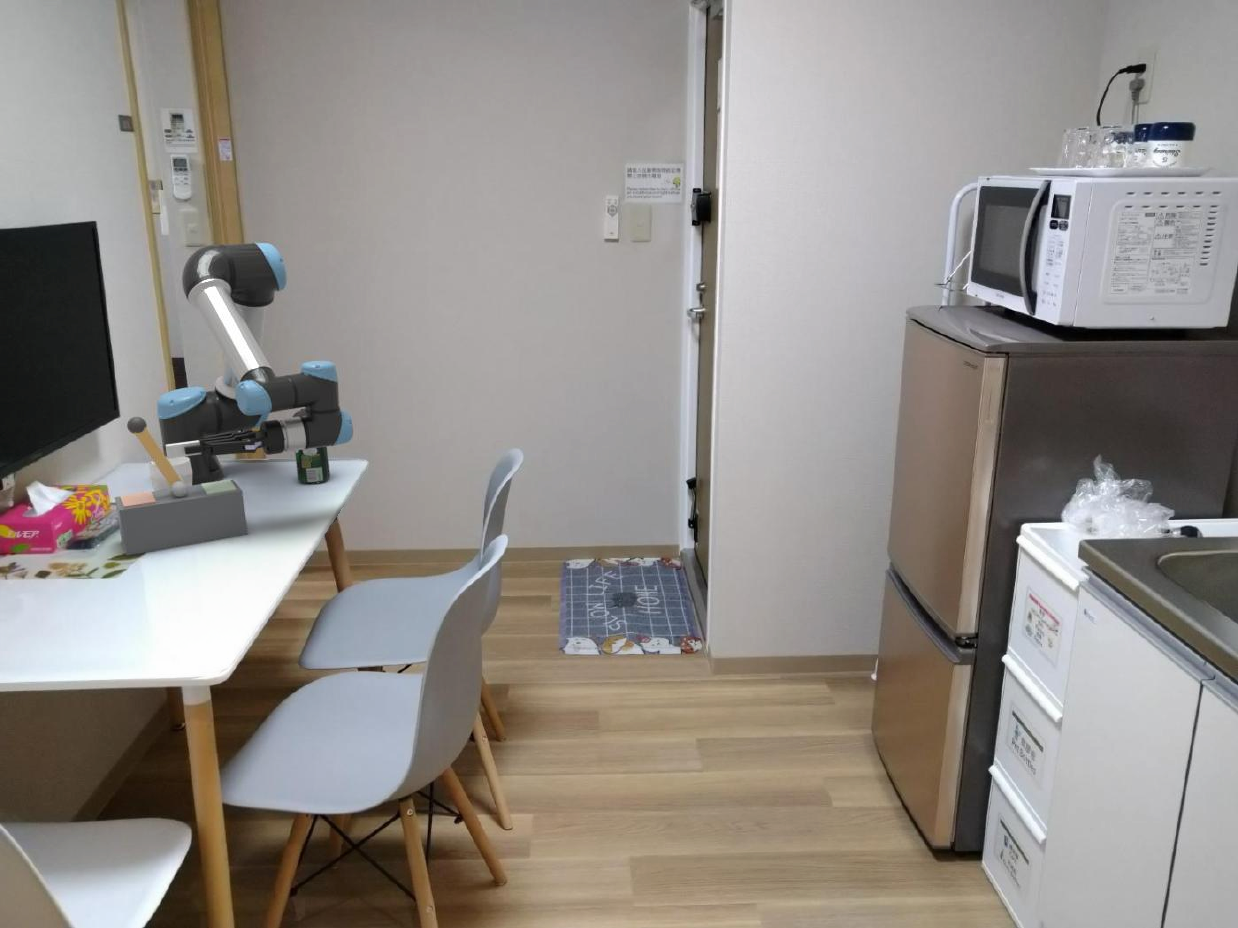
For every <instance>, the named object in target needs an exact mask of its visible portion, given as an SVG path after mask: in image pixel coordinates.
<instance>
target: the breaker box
mask: <svg viewBox="0 0 1238 928" xmlns="http://www.w3.org/2000/svg"><path fill="white" fill-rule="evenodd" d="M187 488H188V491H187V493H186V494H185V495H184V496H181V497H178V496H175V495H174V494H173V492H172V490H171V489H166V490H159V491H154V490H153V491H152V490H151V491H143V492H138V493H137V492H136V493H131V494H125V495H124V494H123V495H119V496H114V500H115V501H114V502H115V507H116V512H117V513H116V515H117V521H118V526H119V533H120V538H121V543H122V546H123V551H124V553H125V556H126V557H128V556H133V555H134V556H135V555H139V554H144V553H149V552H157V551H162V550H167V549H173V548H179V547H185V546H189V545H195V544H202V543H206V542H211V541H217V540H223V539H228V538H233V537H239V536H240V537H241V536H245V535H248V527H247V518H246V517H247V516H246V510H245V509H246V508H245V502H244V501H245V500H244V492H243V490H242V488H241V487H240V486H239V485H238V483H237V481H235V479H224V480H223V479H222V480H217V481H215V482H210V483H203V484H199V485H193V486H187Z"/></svg>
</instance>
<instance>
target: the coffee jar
mask: <svg viewBox="0 0 1238 928" xmlns="http://www.w3.org/2000/svg"><path fill="white" fill-rule="evenodd" d="M303 416H306V410H305V408H301V409H300V410H298V411H296V412H295V413H294V414H293V415H292V417H303ZM294 454H295V462H296V470H297V471H296V473H297V481H298V482H299V483H300V482H301V484H306V483H317V482H320V483H323V482H324V481H325V482H326V481H328V479H329V478H330V473H331V471H330V464H329V463H330V462H329V453H328V446H326V447H318V448H310V449H304V450H299V451H298V453H295V452H294ZM325 482H324V483H325ZM317 484H318V483H317Z"/></svg>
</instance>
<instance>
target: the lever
mask: <svg viewBox="0 0 1238 928" xmlns="http://www.w3.org/2000/svg"><path fill="white" fill-rule="evenodd" d="M147 425H148V424H147V422H146V420H145V419H144V418H142V417H140V416H134V417H130V419H129V420H128V422H127V425H126V426H127V430H128V431H129V433H132V434H134V435H135V436H136V437H137V439H138V441H139V442H140V444H141V445H142V446H143V448H144V450H145V451H146V453H147V454H148V455H149V457H150V458H151V461H152V460H153V461H154V463H155V464H156V466H157V467H158V469H159V470H160V471H161V473H162V474H163V476H164V477H165V479H166V480H167V482H168V483H169V486H170V488H171V490H172V492H173V494H174V495H175V496H178V497H181V496H184V495H185V494H186V493H187V491H188V488H187V486H186V484H185V482H184V481H183V479H182V478H181V477H179V476H178V474H177V473H176V471H175V470H174V468H173V467H172V465H171V464H170V463H169V461H168V460H167V458H166V457H165V455H164V454H163V453H164V452H163V450H161V447H160V446H159V445H158V443H157V442H156V440H155V439H154V437H153V436H152V434H151V432H150V431H149V429H147Z"/></svg>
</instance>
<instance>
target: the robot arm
mask: <svg viewBox="0 0 1238 928" xmlns="http://www.w3.org/2000/svg"><path fill="white" fill-rule="evenodd" d="M287 279H288V278H287V271H286V265H285V263H284V260H283V258H282V256H281V254H280V251H278V249H277V248H276V246H274V245H272V244H271V243H269V242H268V243H266V242H262V243H261V242H259V243H258V242H255V241H254V242H251V243H233V244H230V243H229V244H209V245H205V246H202V247H200V248H198V249H197V250H196V251H194V252H193V253H192V254H190V256H189V258H188V259H187V261H186V262H185V265H184V266H183V270H182V275H181V283H182V289H183V290H182V291H183V293H184V296H185V298H186V300H187V301H188V303H189V305H190V306H191V307H192V309H195V310H197V311H199V313H200V315H201V317H202V319H203V320H204V322H205V324H206V325H207V328H208V329H209V331H210V332H211V335H212V336H213V338H214V340H215V341H216V343H217V345H218V347H219V349H220V350H221V353H222V354H223V364H222V365H223V366H222V375H221V376H219V377H218V378H217V379H216V380H215V385H214V390H210V391H209V390H208V391H206V390H205V388H204V387H201V386H191V387H183V388H182V387H181V388H178V389H173V390H171V391H168V392H166V393H164V394H162V395H161V396H160V397H159V398H158V400H157V402H156V405H157V408H156V409H157V413H156V415H157V418H158V423H159V429H160V437H161V444H162V452H163V454H164V455H165V457H168V459H170V458H177V457H184V456H185V457H188V458H189V459H190V463H191V468H192V486H193V485H199V484H203V483H210V482H216V481H220V479H222V478H223V477H224V471H223V466H222V464H221V462H220V460H219V458H218V457H217V456H223V455H235V454H236V455H237V454H255V453H257V450H258V449H262V450H263V452H264V453H265V454H266V455H267V456H271V455H277V454H283V452H287V453H289V452H294V454H295V453H298V451H299V450H304V449H310V448H318V447H326V446H327V447H334V446H338V445H343V444H347V443H349V442H350V441H352V439H353V436H354V425H353V422H352V421H353V420H352V416H351V415H350V414H349V412H348V411H344V410H342V409H341V405H340V398H339V397H340V396H339V380H338V373H337V368H336V365H335V363H333V362H331V361H328V360H313V361H308V362H304V363H302V364H301V367H300V369H301V370H300V372H299V373H294V374H286V375H281V376H280V375H279V376H277V375H276V373H275V372H274V370H273V368H272V367H271V365H270V363H269V362H268V359H267V358H266V357H265V354H264V352H263V351H262V348H263V347H262V346H263V339H264V338H263V337H264V331H265V321H266V315H267V314H266V313H267V307H269V306H270V305H272V304H273V303H274V301H275V294H276V292H281V291H283V290H284V289H285V288H286V286H287ZM300 408H301V409H302V408H304V409H305V410H306V416H303V417H293V416H292V417H285V418H281V419H280V420H278V419H273V420H268V418H269V415H270V414H271V413H277V412H282V411H287V410H296V409H300ZM256 428H259V430H254V431H253V429H256Z"/></svg>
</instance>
